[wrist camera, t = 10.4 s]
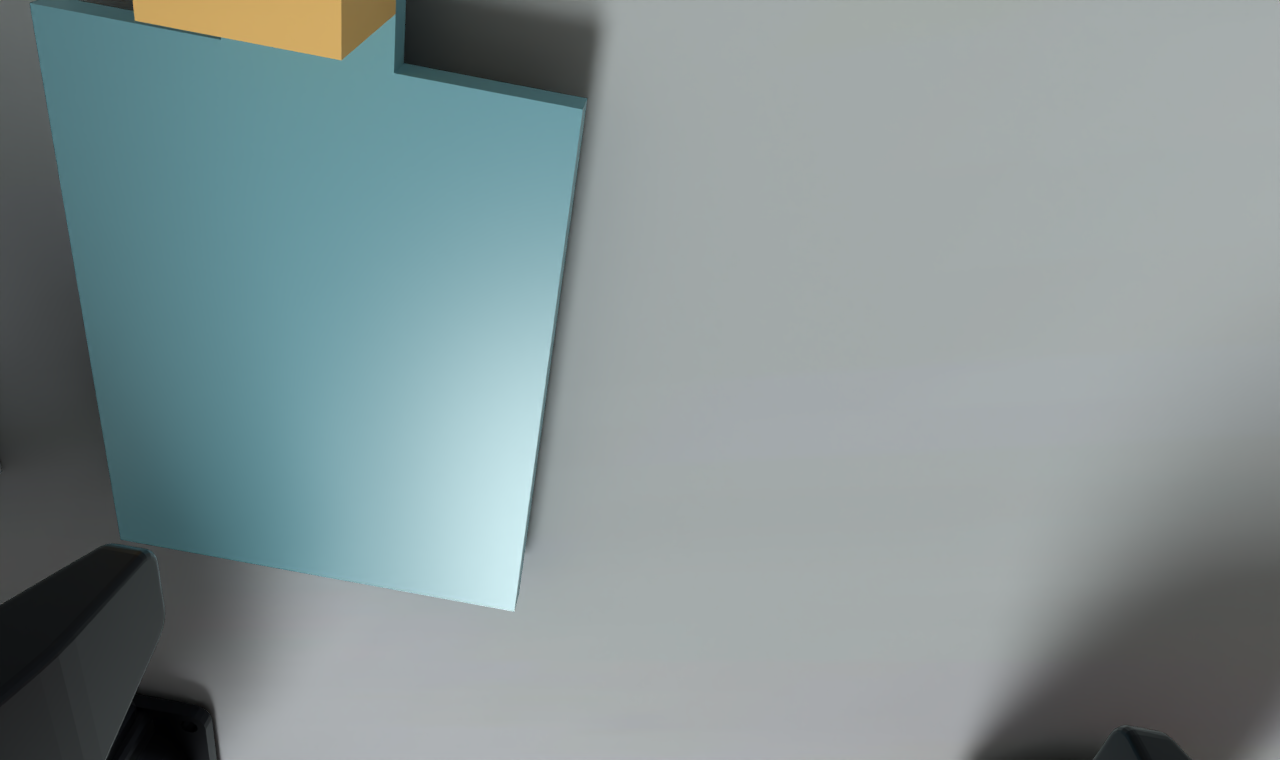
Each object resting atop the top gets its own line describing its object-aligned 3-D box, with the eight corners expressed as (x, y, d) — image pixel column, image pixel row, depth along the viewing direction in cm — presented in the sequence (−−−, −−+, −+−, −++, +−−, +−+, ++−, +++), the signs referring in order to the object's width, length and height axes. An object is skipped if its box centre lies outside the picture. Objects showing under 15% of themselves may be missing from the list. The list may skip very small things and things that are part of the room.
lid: (524, 570, 26) (490, 702, 22) (149, 501, 25) (56, 624, 22) (617, -91, 17) (585, -41, 13) (47, -202, 17) (-131, -181, 13)
